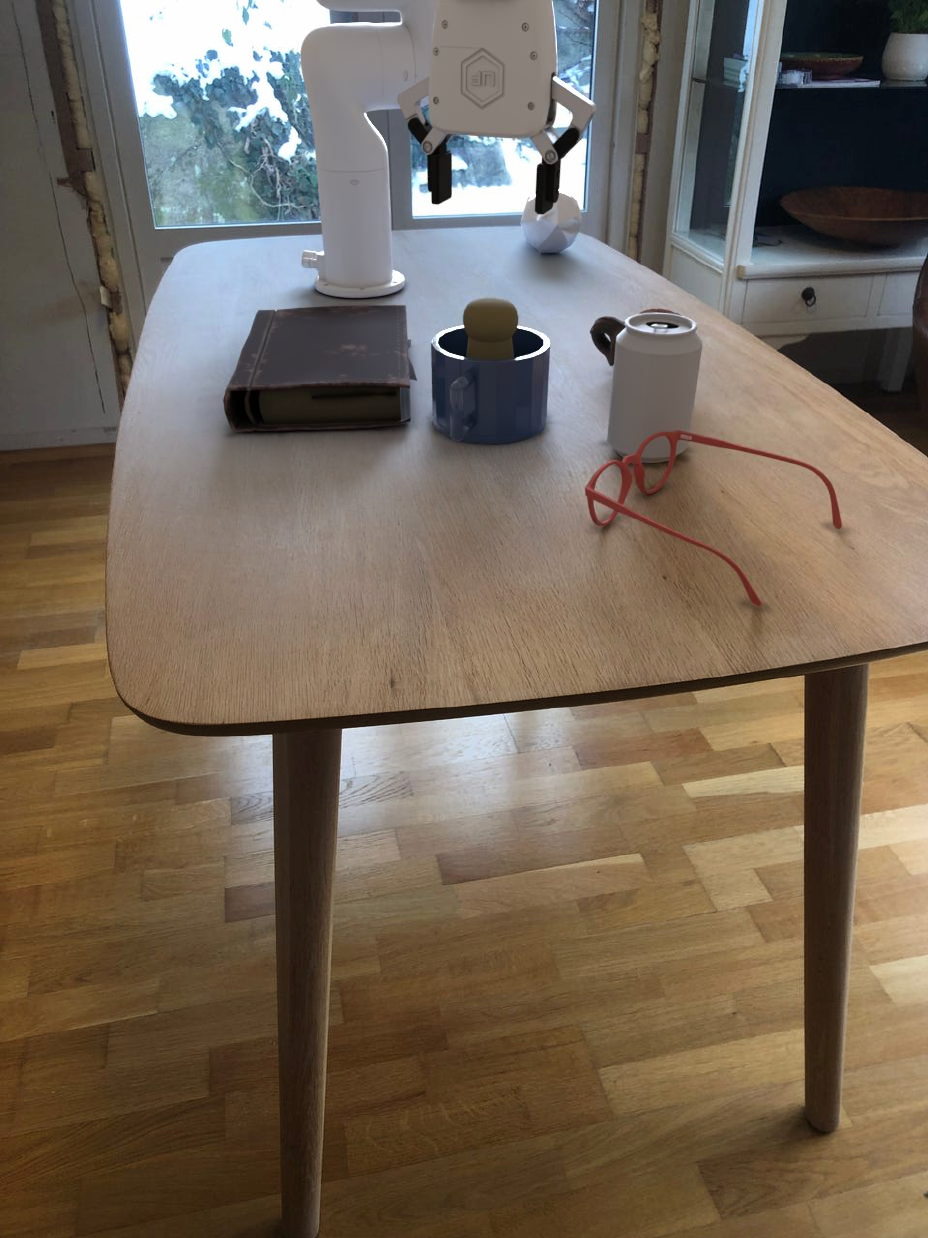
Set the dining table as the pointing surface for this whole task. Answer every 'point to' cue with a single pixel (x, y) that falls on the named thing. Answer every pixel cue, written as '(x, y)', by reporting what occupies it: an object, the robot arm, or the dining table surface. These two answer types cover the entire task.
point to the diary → (322, 370)
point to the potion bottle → (552, 224)
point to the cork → (490, 328)
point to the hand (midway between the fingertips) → (492, 206)
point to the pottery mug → (612, 333)
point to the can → (653, 384)
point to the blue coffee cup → (490, 389)
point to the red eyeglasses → (640, 474)
